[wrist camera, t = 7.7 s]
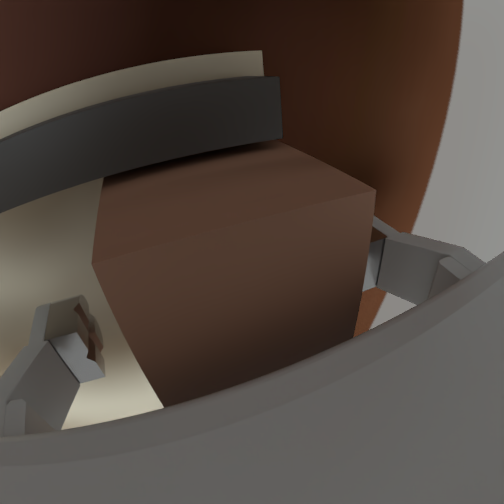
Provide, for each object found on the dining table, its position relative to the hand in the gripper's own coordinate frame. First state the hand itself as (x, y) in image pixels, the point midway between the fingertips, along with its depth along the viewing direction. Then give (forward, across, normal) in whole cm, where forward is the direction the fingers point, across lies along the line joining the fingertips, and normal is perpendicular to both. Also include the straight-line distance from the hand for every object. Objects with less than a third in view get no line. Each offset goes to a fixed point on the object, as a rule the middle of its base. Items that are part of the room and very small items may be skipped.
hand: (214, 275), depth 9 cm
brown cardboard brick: (+1, 0, 0) cm, 1 cm away
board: (+3, +8, +2) cm, 9 cm away
